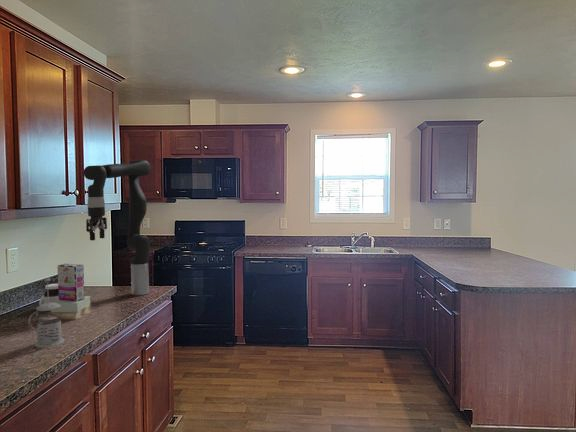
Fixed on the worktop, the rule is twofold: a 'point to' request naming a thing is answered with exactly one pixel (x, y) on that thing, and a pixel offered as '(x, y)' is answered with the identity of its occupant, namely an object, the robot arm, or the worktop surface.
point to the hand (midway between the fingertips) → (97, 239)
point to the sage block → (72, 305)
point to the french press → (48, 326)
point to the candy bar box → (70, 282)
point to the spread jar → (50, 294)
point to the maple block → (73, 313)
